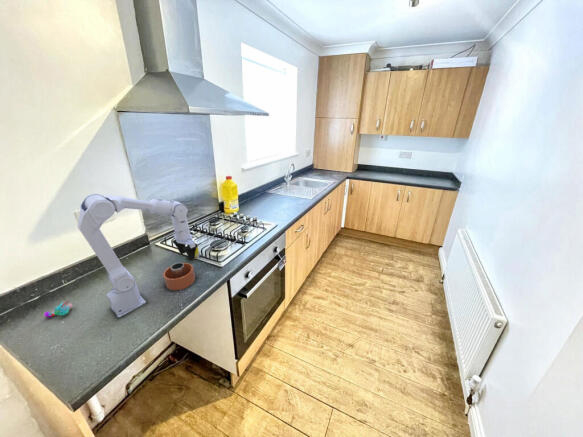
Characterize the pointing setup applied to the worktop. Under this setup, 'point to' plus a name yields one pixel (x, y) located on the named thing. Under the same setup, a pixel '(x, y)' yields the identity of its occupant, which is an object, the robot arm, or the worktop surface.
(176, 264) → the steel cup
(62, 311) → the multicoloured toy
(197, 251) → the supplement bottle
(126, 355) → the worktop surface
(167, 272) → the terracotta round bowl
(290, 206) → the worktop surface
